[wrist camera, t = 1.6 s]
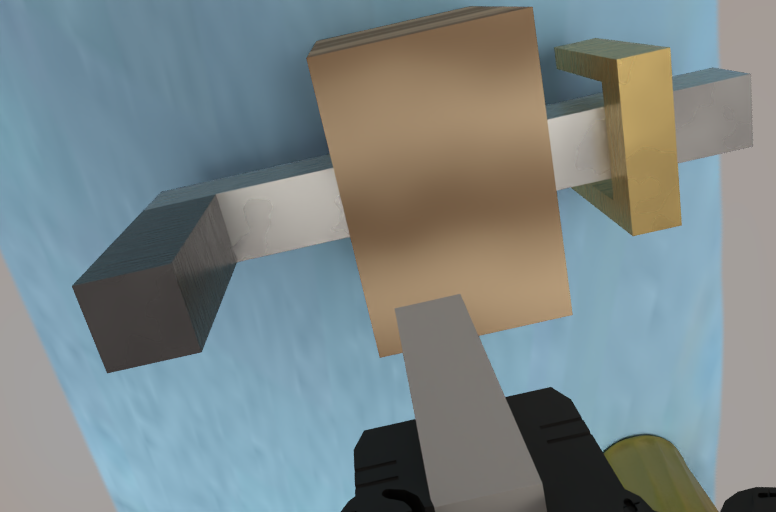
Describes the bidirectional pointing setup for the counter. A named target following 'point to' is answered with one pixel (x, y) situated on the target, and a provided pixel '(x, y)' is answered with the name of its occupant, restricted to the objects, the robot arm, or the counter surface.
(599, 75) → the collar
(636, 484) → the vase
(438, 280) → the block
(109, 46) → the counter surface
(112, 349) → the shaft
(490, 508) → the robot arm
